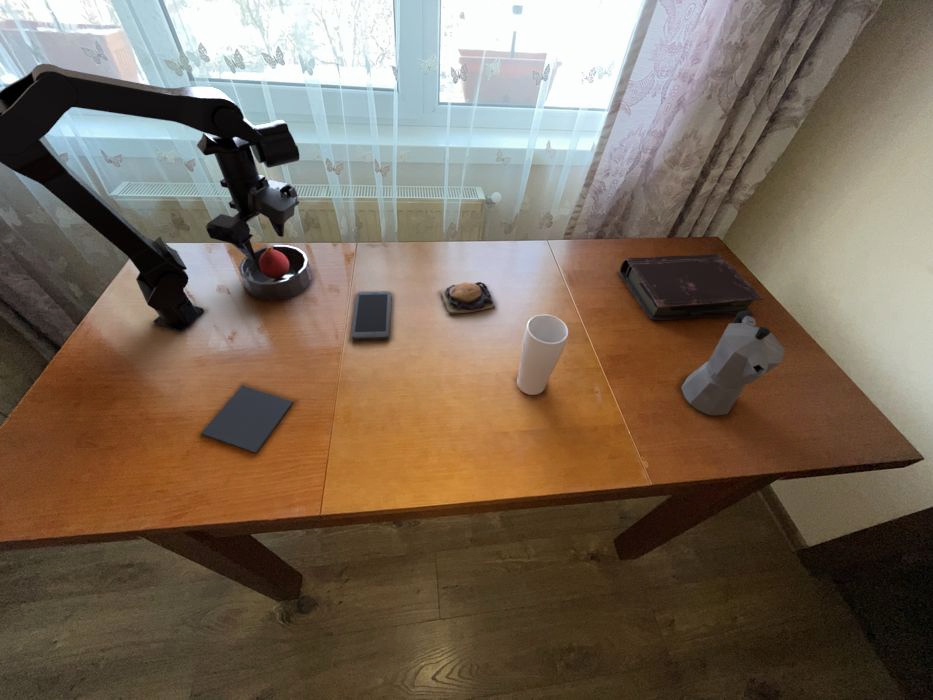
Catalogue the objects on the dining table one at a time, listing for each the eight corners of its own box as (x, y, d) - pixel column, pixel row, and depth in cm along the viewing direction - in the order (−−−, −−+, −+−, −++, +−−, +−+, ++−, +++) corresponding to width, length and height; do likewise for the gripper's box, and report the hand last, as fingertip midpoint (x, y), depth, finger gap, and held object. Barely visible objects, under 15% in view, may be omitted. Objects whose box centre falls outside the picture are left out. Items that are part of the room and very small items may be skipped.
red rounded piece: (284, 288, 87) (273, 258, 81) (260, 284, 87) (247, 253, 81) (297, 272, 90) (288, 242, 84) (273, 268, 91) (262, 237, 85)
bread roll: (449, 317, 85) (449, 304, 82) (439, 291, 90) (439, 278, 87) (496, 309, 87) (498, 296, 84) (484, 284, 92) (485, 272, 90)
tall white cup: (551, 376, 76) (572, 320, 65) (544, 404, 72) (565, 349, 60) (517, 366, 77) (531, 309, 66) (508, 393, 73) (521, 336, 61)
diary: (617, 271, 99) (624, 254, 95) (707, 267, 103) (718, 250, 99) (651, 324, 87) (661, 307, 83) (752, 317, 91) (766, 301, 87)
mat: (201, 434, 64) (200, 433, 63) (243, 386, 70) (242, 385, 70) (256, 453, 62) (255, 452, 62) (293, 402, 69) (292, 401, 68)
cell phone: (351, 340, 78) (350, 338, 78) (357, 293, 88) (356, 291, 87) (389, 339, 79) (389, 337, 79) (391, 293, 88) (390, 290, 88)
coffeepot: (736, 432, 70) (809, 369, 57) (681, 417, 72) (739, 351, 58) (726, 368, 80) (786, 301, 67) (678, 355, 82) (726, 287, 68)
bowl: (233, 291, 86) (224, 274, 82) (271, 256, 94) (265, 239, 91) (289, 307, 84) (283, 290, 80) (323, 269, 92) (319, 253, 89)
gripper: (245, 207, 64) (274, 284, 75) (310, 160, 76) (326, 233, 87) (186, 193, 65) (223, 270, 77) (258, 149, 77) (281, 222, 89)
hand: (267, 247), depth 83 cm, fingers open, 9 cm apart
